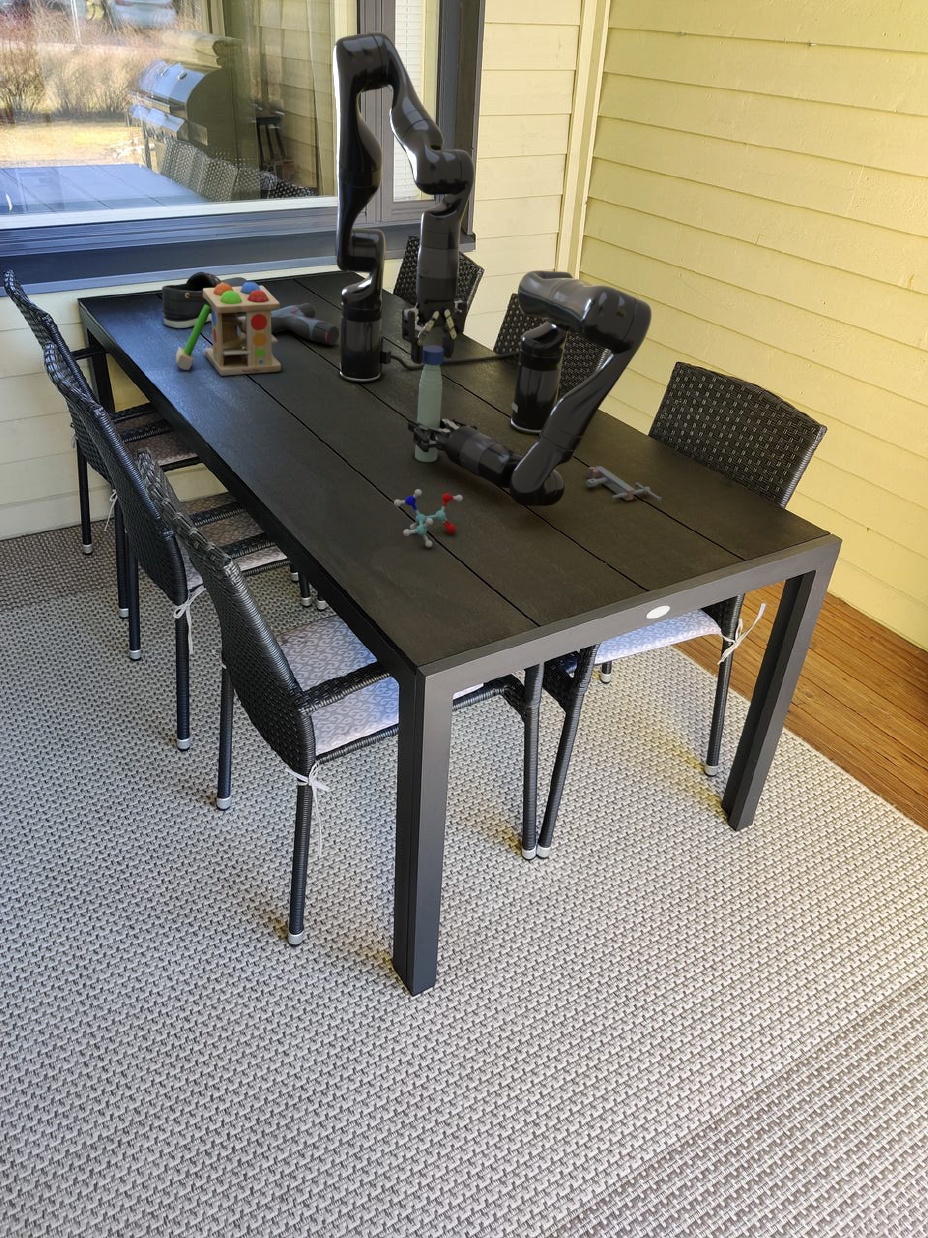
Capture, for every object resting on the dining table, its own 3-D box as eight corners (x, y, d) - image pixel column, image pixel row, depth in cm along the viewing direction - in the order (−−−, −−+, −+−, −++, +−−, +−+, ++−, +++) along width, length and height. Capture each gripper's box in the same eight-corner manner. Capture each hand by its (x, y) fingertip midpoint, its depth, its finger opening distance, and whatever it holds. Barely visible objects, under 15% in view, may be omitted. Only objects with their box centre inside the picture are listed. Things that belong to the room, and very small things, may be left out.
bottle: (411, 458, 197) (417, 352, 185) (420, 450, 200) (427, 346, 188) (431, 464, 196) (438, 357, 183) (440, 455, 199) (448, 351, 187)
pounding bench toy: (183, 379, 220) (176, 299, 210) (169, 357, 231) (162, 280, 221) (282, 371, 230) (280, 294, 220) (264, 350, 240) (262, 276, 230)
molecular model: (452, 541, 163) (433, 483, 162) (403, 556, 167) (383, 500, 165) (474, 530, 174) (456, 475, 172) (427, 544, 177) (409, 492, 176)
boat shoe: (271, 306, 270) (269, 267, 265) (181, 330, 246) (177, 288, 241) (236, 297, 276) (233, 259, 271) (146, 320, 252) (141, 279, 247)
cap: (445, 360, 188) (446, 347, 187) (439, 366, 185) (440, 353, 183) (425, 356, 189) (426, 343, 187) (418, 362, 186) (419, 349, 184)
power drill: (365, 313, 253) (305, 296, 261) (318, 330, 240) (256, 311, 248) (364, 334, 256) (305, 316, 264) (318, 351, 243) (257, 332, 251)
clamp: (576, 469, 194) (616, 461, 198) (574, 479, 195) (614, 471, 199) (622, 503, 183) (664, 494, 188) (620, 513, 184) (661, 504, 189)
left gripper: (454, 260, 183) (448, 348, 193) (393, 269, 175) (389, 359, 185) (481, 271, 179) (473, 360, 188) (419, 280, 171) (414, 372, 180)
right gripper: (505, 426, 188) (447, 396, 198) (448, 442, 179) (391, 410, 189) (501, 462, 192) (445, 430, 202) (445, 479, 184) (390, 446, 194)
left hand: (431, 359), depth 186 cm, fingers open, 6 cm apart
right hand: (419, 421), depth 196 cm, fingers closed on bottle, 4 cm apart
